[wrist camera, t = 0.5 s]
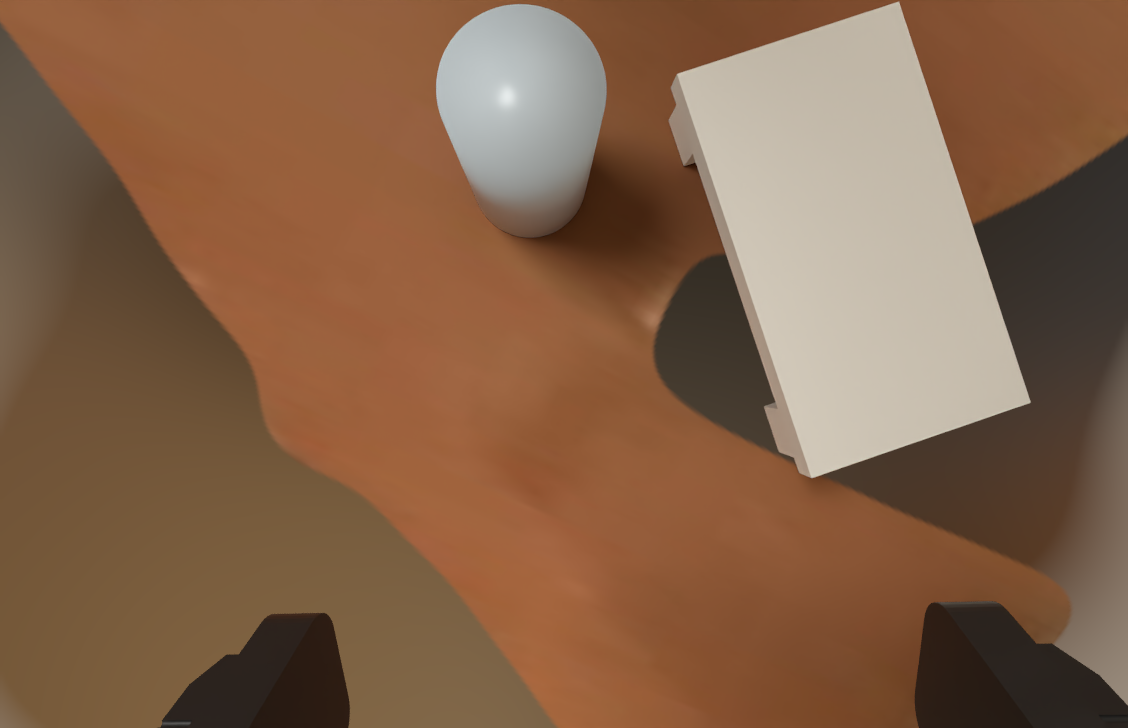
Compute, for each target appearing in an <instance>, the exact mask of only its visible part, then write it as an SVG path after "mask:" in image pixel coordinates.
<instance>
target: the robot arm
mask: <svg viewBox="0 0 1128 728" xmlns="http://www.w3.org/2000/svg"><path fill="white" fill-rule="evenodd" d="M915 710H916V716H917V721H918V726H919V728H1128V706H1127V705H1126V703H1125V702H1124V701H1123V700H1122V699H1121V698H1120V697H1119V696H1118V695H1117V694H1116V693H1115V692H1114V691H1113V689H1112V688H1111V687H1110V686H1109V685H1108V684H1107V683H1106V682H1105V681H1104V680H1103V679H1102V678H1101V677H1100V676H1099V675H1098V674H1096V673H1095V672H1093V671H1092V670H1090V669H1089V668H1087V667H1086V666H1084V665H1083V664H1081V663H1080V662H1078V661H1077V660H1075V659H1074V658H1072V657H1071V656H1069V655H1068V654H1066V653H1065V652H1063V651H1062V650H1060V649H1059V648H1057V647H1056V646H1054V645H1053V644H1036V643H1035V642H1034V641H1033V639H1032V638H1031V637H1030V636H1029V635H1028V634H1027V633H1026V631H1025V630H1024V629H1023V628H1022V627H1021V626H1020V625H1019V623H1018V622H1017V621H1016V620H1015V619H1014V618H1013V616H1012V615H1011V614H1010V613H1009V612H1008V611H1007V610H1006V609H1005V608H1004V607H1003V606H1002V605H1001V604H999V603H997V602H993V601H982V602H934V603H931V604H930V605H929V606H928V608H927V610H926V613H925V618H924V626H923V634H922V642H921V650H920V658H919V665H918V673H917V681H916V689H915ZM349 714H350V706H349V698H348V692H347V688H346V683H345V678H344V673H343V669H342V664H341V660H340V655H339V650H338V645H337V641H336V636H335V631H334V627H333V623H332V620H331V619H330V617H329V616H328V615H327V614H325V613H302V614H271V615H269V616H267V617H266V618H265V619H264V620H263V621H262V623H261V624H260V625H259V627H258V628H257V630H256V631H255V632H254V634H253V635H252V637H251V638H250V640H249V641H248V642H247V644H246V645H245V647H244V648H243V650H242V651H241V652H240V654H239V655H226V656H224V657H223V658H222V659H221V660H220V661H218V662H217V663H216V664H214V665H213V666H212V667H211V668H210V669H208V670H207V671H206V672H204V673H203V674H202V675H201V676H199V677H198V678H197V679H196V680H195V681H193V682H192V683H191V684H189V686H188V687H187V688H186V690H185V691H184V693H183V694H182V695H181V696H180V698H179V699H178V700H177V702H176V703H175V704H174V705H173V707H172V708H171V710H170V711H169V712H168V714H167V715H166V716H165V717H164V719H163V720H162V726H161V727H160V728H348V726H349Z"/></svg>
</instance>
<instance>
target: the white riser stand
mask: <svg viewBox="0 0 1128 728" xmlns="http://www.w3.org/2000/svg"><path fill="white" fill-rule="evenodd" d="M671 90H672V93H673V96H674V99H675V102H676V107H675V109H674V111H673V113H672V115H671V116H670V118H669V120H668V121H669V124H670V127H671V130H672V133H673V136H674V139H675V142H676V145H677V148H678V151H679V154H680V157H681V160H682V163H683V166H687V165H690V164H693V163H696V165H697V168H698V171H699V174H700V177H701V180H702V183H703V186H704V189H705V192H706V195H707V198H708V201H709V204H710V207H711V210H712V213H713V216H714V219H715V222H716V225H717V228H718V231H719V234H720V237H721V240H722V243H723V246H724V249H725V252H726V255H727V258H728V261H729V264H730V267H731V270H732V273H733V276H734V279H735V282H736V285H737V288H738V291H739V294H740V297H741V300H742V303H743V306H744V309H745V312H746V315H747V318H748V321H749V324H750V327H751V330H752V333H753V336H754V339H755V342H756V345H757V348H758V351H759V354H760V357H761V360H762V363H763V366H764V369H765V372H766V375H767V378H768V381H769V384H770V387H771V390H772V393H773V396H774V399H775V403H772V404H770V405H767V406H764V408H765V411H766V415H767V418H768V420H769V423H770V426H771V430H772V433H773V436H774V439H775V442H776V444H777V448H778V451H779V452H780V453H783V454H786V455H788V456H791V457H794V459H795V462H796V465H797V468H798V471H799V473H801V474H803V475H805V476H808V477H810V478H814V477H817V476H820V475H823V474H825V473H828V472H831V471H834V470H837V469H840V468H843V467H846V466H848V465H851V464H854V463H857V462H860V461H863V460H866V459H869V458H872V457H874V456H877V455H880V454H883V453H886V452H889V451H892V450H895V449H898V448H900V447H904V446H906V445H909V444H912V443H915V442H918V441H921V440H924V439H926V438H930V437H933V436H935V435H938V434H941V433H944V432H947V431H950V430H953V429H956V428H959V427H962V426H965V425H967V424H970V423H973V422H976V421H979V420H982V419H985V418H988V417H991V416H994V415H996V414H999V413H1002V412H1005V411H1008V410H1011V409H1014V408H1016V407H1020V406H1023V405H1025V404H1028V403H1031V402H1030V399H1029V396H1028V393H1027V390H1026V387H1025V384H1024V381H1023V378H1022V375H1021V372H1020V369H1019V366H1018V362H1017V360H1016V356H1015V353H1014V350H1013V347H1012V344H1011V341H1010V338H1009V335H1008V332H1007V329H1006V326H1005V323H1004V320H1003V317H1002V314H1001V311H1000V308H999V305H998V302H997V299H996V296H995V293H994V289H993V286H992V283H991V280H990V277H989V275H988V272H987V268H986V265H985V262H984V259H983V256H982V253H981V250H980V247H979V244H978V241H977V238H976V235H975V232H974V229H973V226H972V223H971V220H970V216H969V213H968V210H967V207H966V204H965V201H964V198H963V195H962V192H961V189H960V186H959V183H958V180H957V177H956V174H955V171H954V168H953V165H952V162H951V159H950V156H949V153H948V150H947V147H946V144H945V141H944V137H943V134H942V131H941V128H940V125H939V122H938V119H937V116H936V113H935V110H934V107H933V104H932V101H931V98H930V95H929V92H928V89H927V86H926V83H925V80H924V77H923V74H922V71H921V68H920V65H919V61H918V58H917V55H916V52H915V49H914V46H913V43H912V40H911V37H910V34H909V31H908V28H907V25H906V22H905V19H904V16H903V13H902V10H901V7H900V4H899V2H896V3H893V4H890V5H887V6H884V7H881V8H878V9H875V10H872V11H869V12H865V13H862V14H859V15H856V16H853V17H850V18H847V19H844V20H841V21H838V22H835V23H832V24H829V25H826V26H823V27H820V28H816V29H813V30H810V31H807V32H804V33H801V34H798V35H795V36H792V37H789V38H786V39H783V40H780V41H777V42H774V43H771V44H767V45H764V46H761V47H758V48H755V49H752V50H749V51H746V52H743V53H740V54H737V55H734V56H731V57H728V58H725V59H721V60H718V61H715V62H712V63H709V64H706V65H703V66H700V67H697V68H694V69H691V70H688V71H685V72H682V73H679V74H677V75H676V77H675V79H674V82H673V84H672V86H671Z"/></svg>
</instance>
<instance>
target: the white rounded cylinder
mask: <svg viewBox="0 0 1128 728" xmlns="http://www.w3.org/2000/svg"><path fill="white" fill-rule="evenodd" d="M436 96H437V104H438V108H439V112H440V116H441V118H442V121H443V123H444V125H445V128H446V130H447V132H448V135H449V137H450V140H451V142H452V144H453V147H454V149H455V151H456V154H457V156H458V158H459V161H460V163H461V165H462V168H463V170H464V172H465V175H466V177H467V179H468V182H469V184H470V186H471V189H472V191H473V193H474V196H475V198H476V200H477V203H478V205H479V207H480V209H481V211H482V212H483V214H484V215H485V216H486V218H487V219H488V220H489V221H490V222H491V223H492V224H494V225H495V226H496V227H497V228H499V229H501V230H502V231H504V232H506V233H509V234H511V235H514V236H518V237H525V238H535V237H542V236H546V235H549V234H551V233H554V232H556V231H558V230H559V229H561V228H562V227H564V226H565V225H566V224H568V223H569V222H570V221H571V220H572V218H573V217H574V216H575V215H576V213H577V212H578V210H579V208H580V206H581V204H582V202H583V199H584V195H585V191H586V187H587V183H588V178H589V174H590V170H591V165H592V161H593V157H594V152H595V148H596V144H597V139H598V135H599V131H600V127H601V122H602V118H603V114H604V109H605V103H606V77H605V72H604V68H603V64H602V61H601V59H600V57H599V54H598V52H597V50H596V48H595V47H594V45H593V43H592V42H591V41H590V39H589V38H588V37H587V35H586V34H585V33H584V32H583V31H582V30H581V29H580V28H579V27H578V26H577V25H576V24H574V23H573V22H572V21H571V20H569V19H568V18H566V17H564V16H563V15H561V14H559V13H557V12H555V11H552V10H550V9H547V8H544V7H540V6H535V5H528V4H514V5H505V6H501V7H497V8H494V9H491V10H489V11H486V12H484V13H482V14H480V15H478V16H476V17H475V18H473V19H472V20H471V21H469V22H468V23H467V24H465V25H464V26H463V27H462V28H461V29H460V30H459V31H458V32H457V33H456V35H455V36H454V37H453V38H452V40H451V41H450V43H449V45H448V46H447V48H446V50H445V52H444V54H443V56H442V59H441V61H440V65H439V69H438V73H437V81H436Z"/></svg>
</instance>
